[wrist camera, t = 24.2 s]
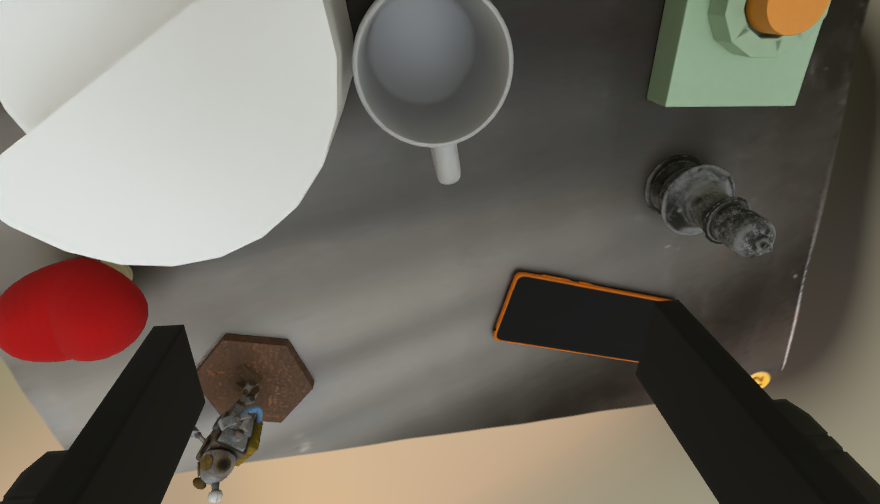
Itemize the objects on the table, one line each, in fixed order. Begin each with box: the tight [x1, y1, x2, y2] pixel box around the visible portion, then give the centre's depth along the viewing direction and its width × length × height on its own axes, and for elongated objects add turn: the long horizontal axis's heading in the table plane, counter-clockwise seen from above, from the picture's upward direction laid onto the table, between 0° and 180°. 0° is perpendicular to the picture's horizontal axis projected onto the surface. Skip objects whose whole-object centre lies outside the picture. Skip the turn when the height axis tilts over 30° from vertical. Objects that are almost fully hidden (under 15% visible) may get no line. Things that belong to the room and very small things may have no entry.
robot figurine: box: [190, 334, 314, 503], centre depth 42 cm, size 11×9×12 cm
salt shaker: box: [644, 155, 776, 258], centre depth 37 cm, size 6×6×12 cm
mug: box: [352, 0, 514, 184], centre depth 31 cm, size 12×8×11 cm
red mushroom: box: [0, 257, 148, 362], centre depth 37 cm, size 9×7×10 cm
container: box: [0, 0, 353, 266], centre depth 28 cm, size 20×20×13 cm
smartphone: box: [493, 272, 672, 363], centre depth 47 cm, size 8×17×1 cm, turn 75°
